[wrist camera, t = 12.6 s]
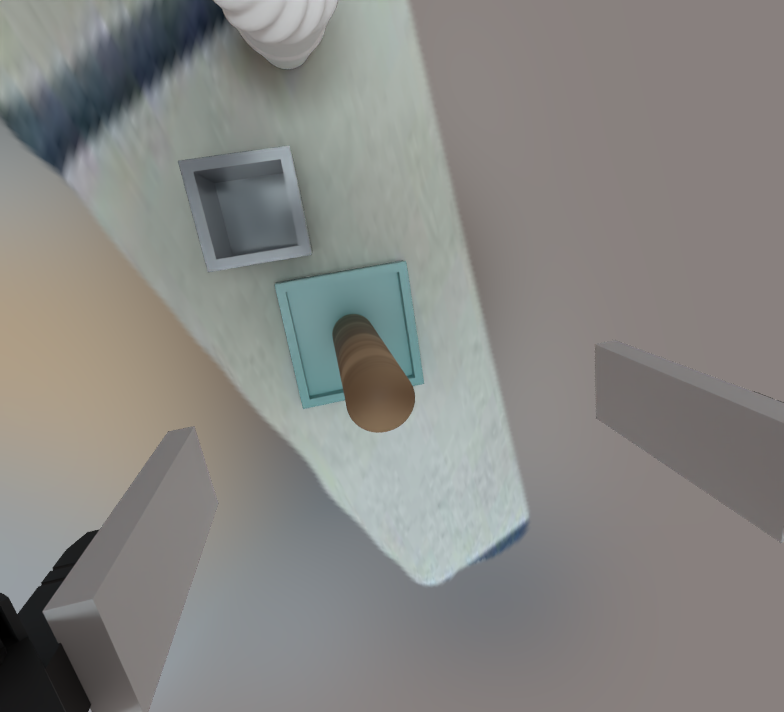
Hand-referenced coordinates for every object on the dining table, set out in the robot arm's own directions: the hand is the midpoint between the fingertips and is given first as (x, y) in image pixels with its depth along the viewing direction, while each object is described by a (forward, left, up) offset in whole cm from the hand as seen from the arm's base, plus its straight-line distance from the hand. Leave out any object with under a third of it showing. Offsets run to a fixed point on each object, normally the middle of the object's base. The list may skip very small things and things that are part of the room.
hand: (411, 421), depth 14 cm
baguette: (+3, 0, -29) cm, 29 cm away
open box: (-9, -6, -30) cm, 32 cm away
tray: (+3, 0, -30) cm, 30 cm away
